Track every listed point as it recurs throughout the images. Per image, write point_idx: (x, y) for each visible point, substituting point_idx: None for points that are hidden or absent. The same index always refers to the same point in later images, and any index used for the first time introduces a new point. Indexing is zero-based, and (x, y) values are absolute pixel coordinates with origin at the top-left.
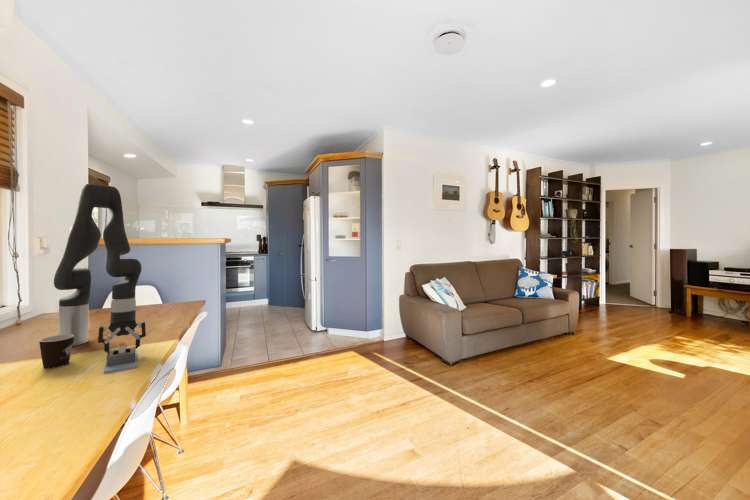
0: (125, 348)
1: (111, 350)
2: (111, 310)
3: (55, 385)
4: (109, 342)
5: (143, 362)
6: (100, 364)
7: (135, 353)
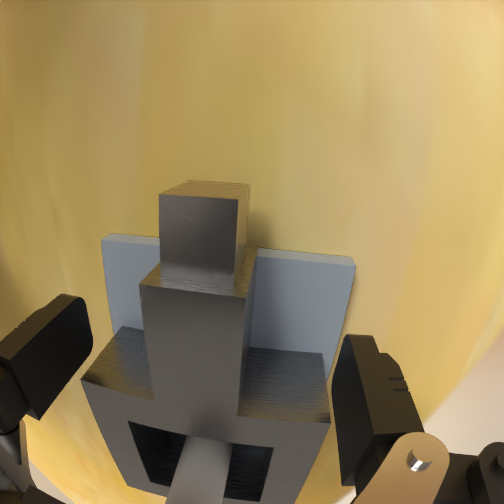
0: (226, 424)
1: (104, 394)
2: None
3: (44, 434)
4: (19, 382)
5: (334, 448)
6: (97, 335)
7: (334, 299)
